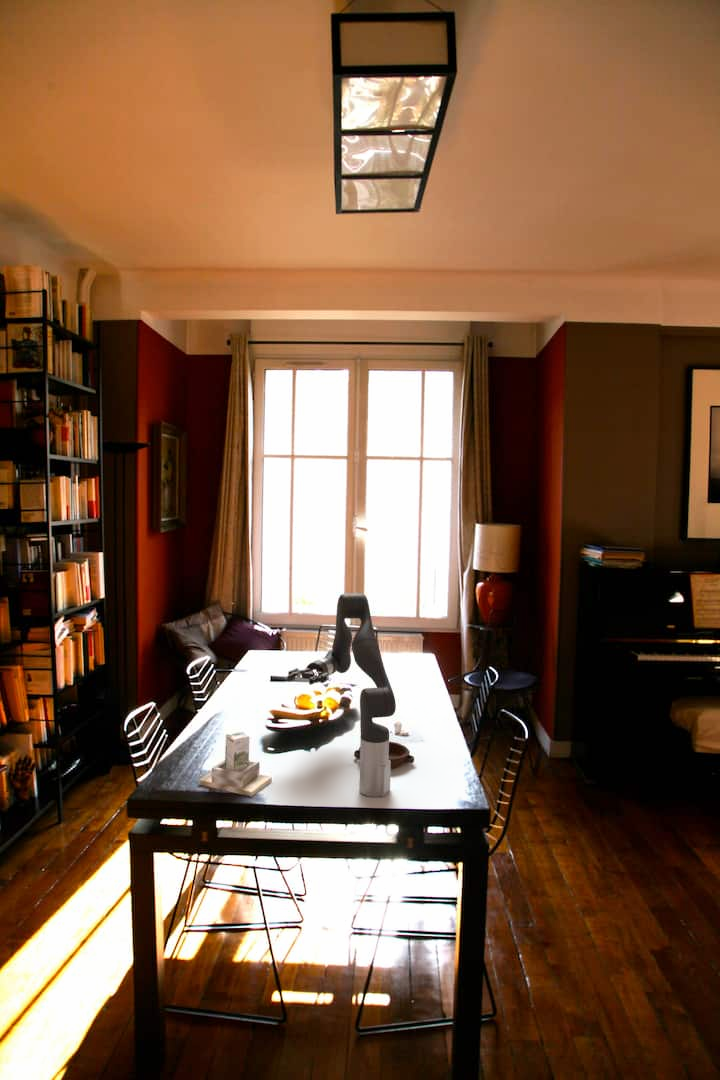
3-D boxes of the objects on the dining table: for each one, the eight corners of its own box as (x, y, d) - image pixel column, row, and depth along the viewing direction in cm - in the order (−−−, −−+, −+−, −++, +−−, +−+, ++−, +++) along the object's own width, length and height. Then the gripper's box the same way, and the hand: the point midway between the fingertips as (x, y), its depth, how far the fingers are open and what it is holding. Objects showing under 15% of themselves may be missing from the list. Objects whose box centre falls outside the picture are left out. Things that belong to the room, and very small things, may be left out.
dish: (411, 776, 205) (412, 761, 205) (348, 769, 209) (349, 755, 209) (416, 756, 222) (416, 743, 222) (358, 751, 226) (358, 738, 226)
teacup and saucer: (411, 736, 243) (411, 726, 243) (392, 737, 242) (392, 727, 242) (404, 729, 252) (405, 719, 252) (386, 730, 250) (386, 720, 250)
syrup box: (239, 773, 200) (240, 730, 200) (248, 779, 196) (249, 735, 195) (224, 777, 197) (225, 733, 196) (233, 783, 192) (234, 739, 192)
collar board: (271, 781, 198) (272, 763, 198) (251, 796, 187) (252, 777, 187) (221, 770, 206) (221, 753, 205) (199, 784, 194) (199, 766, 194)
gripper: (303, 658, 229) (281, 667, 214) (337, 662, 224) (317, 672, 209) (302, 677, 229) (281, 688, 214) (336, 682, 224) (317, 693, 209)
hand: (299, 680), depth 211 cm, fingers open, 8 cm apart
